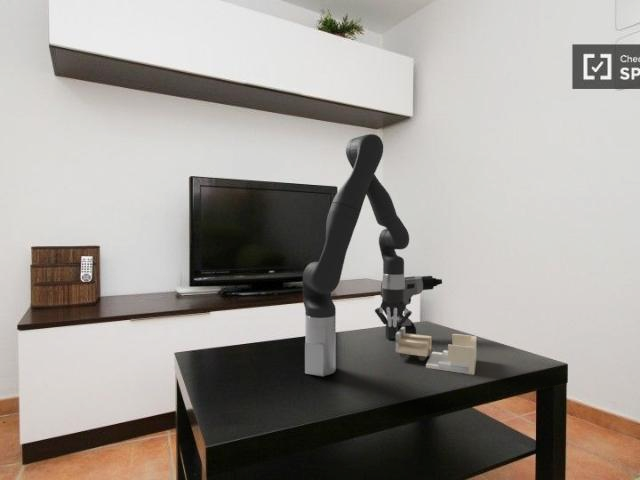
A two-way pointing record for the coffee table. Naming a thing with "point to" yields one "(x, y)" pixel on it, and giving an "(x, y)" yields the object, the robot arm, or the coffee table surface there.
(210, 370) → the coffee table surface
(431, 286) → the cordless drill
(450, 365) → the dock
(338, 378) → the coffee table surface
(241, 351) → the coffee table surface
